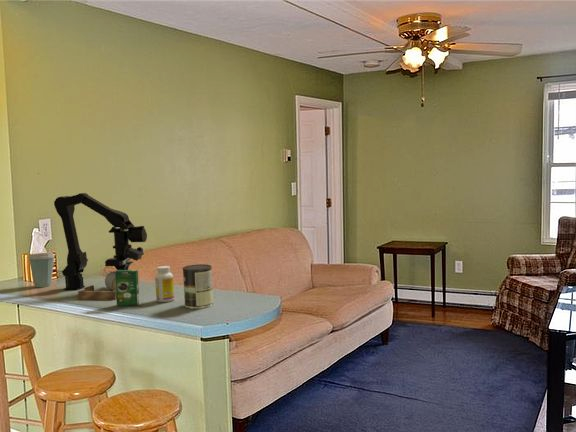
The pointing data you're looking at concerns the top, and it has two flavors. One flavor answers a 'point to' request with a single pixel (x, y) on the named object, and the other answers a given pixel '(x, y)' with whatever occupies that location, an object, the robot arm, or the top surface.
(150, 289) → the top surface
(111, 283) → the ceramic mug
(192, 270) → the coffee can
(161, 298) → the supplement bottle
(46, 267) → the disposable coffee cup
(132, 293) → the coffee box
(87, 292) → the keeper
